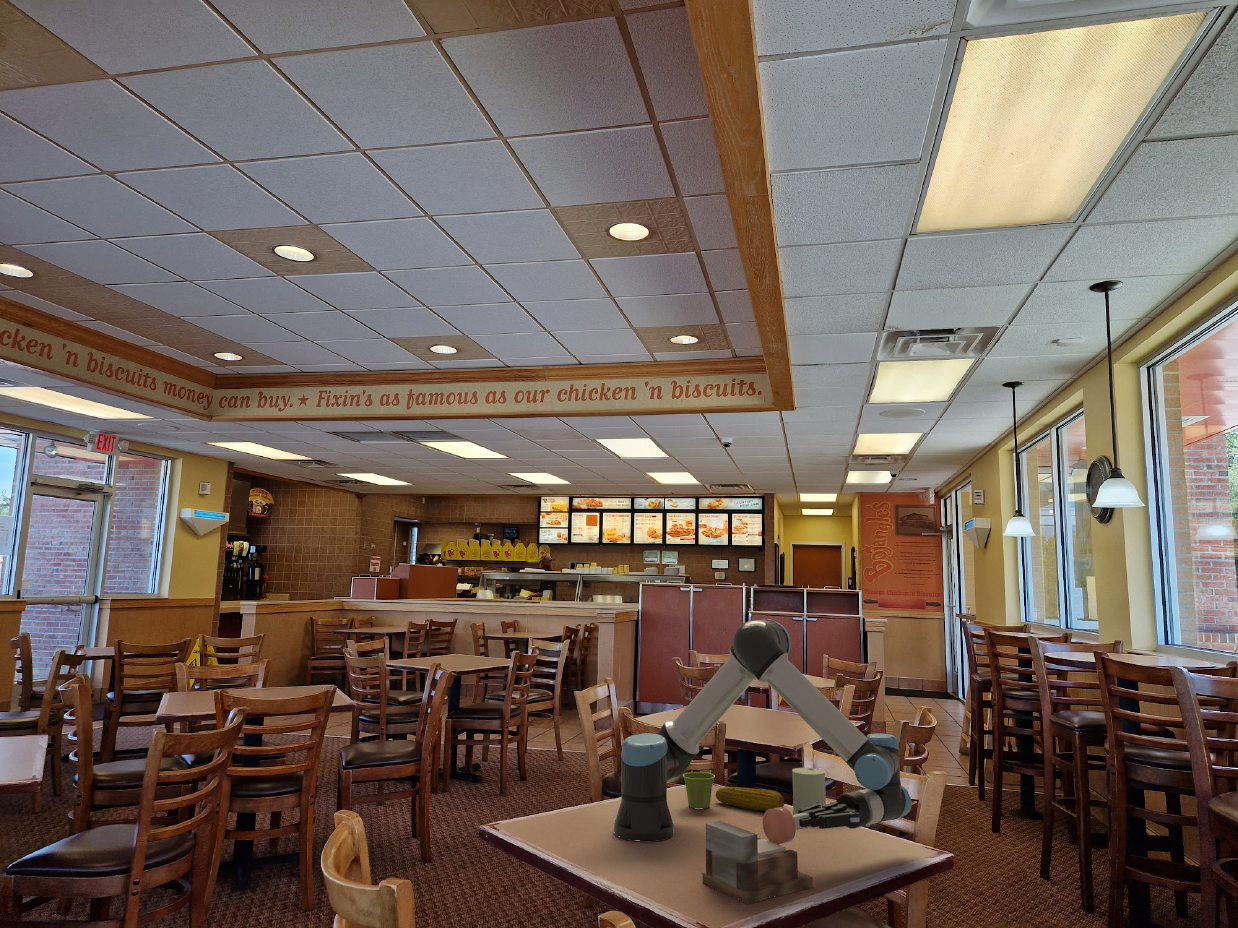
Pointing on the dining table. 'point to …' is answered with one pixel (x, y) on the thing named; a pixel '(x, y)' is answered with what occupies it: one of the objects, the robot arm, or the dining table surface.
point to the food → (750, 798)
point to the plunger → (776, 830)
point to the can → (808, 787)
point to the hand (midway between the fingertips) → (785, 824)
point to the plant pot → (699, 788)
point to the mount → (749, 866)
